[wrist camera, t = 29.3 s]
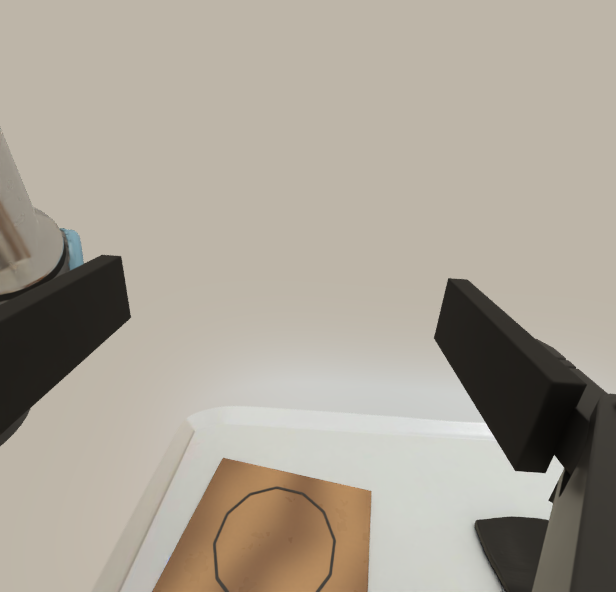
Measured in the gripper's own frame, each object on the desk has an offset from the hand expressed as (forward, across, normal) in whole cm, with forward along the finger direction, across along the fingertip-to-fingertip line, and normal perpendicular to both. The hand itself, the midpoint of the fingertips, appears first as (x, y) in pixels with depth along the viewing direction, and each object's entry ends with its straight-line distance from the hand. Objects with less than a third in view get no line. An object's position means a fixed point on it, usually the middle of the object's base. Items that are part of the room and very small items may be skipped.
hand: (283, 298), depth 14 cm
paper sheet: (+6, 0, -26) cm, 27 cm away
